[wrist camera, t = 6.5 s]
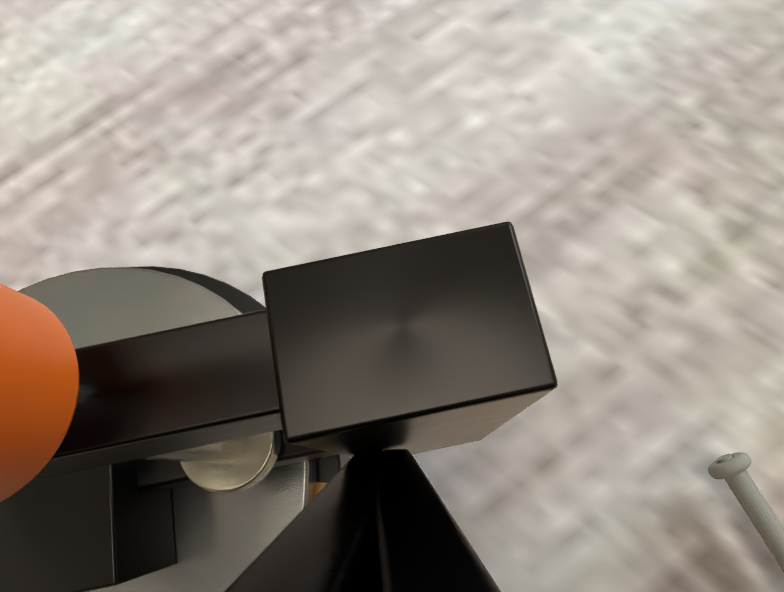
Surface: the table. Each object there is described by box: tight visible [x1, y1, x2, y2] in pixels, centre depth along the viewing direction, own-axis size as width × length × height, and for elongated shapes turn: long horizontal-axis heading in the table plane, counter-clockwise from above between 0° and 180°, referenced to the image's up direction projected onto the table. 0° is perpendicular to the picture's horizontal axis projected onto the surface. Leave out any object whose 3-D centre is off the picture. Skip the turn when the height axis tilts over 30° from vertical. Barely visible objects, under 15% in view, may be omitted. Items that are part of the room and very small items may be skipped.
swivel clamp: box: [0, 222, 557, 592], centre depth 8 cm, size 10×14×10 cm
